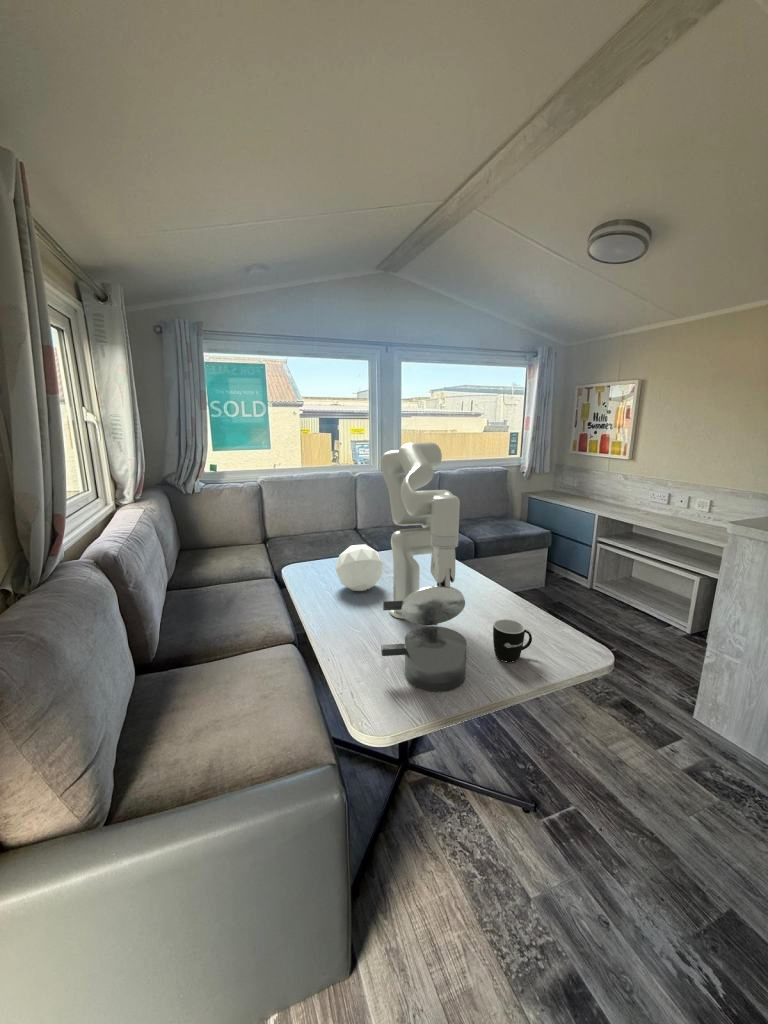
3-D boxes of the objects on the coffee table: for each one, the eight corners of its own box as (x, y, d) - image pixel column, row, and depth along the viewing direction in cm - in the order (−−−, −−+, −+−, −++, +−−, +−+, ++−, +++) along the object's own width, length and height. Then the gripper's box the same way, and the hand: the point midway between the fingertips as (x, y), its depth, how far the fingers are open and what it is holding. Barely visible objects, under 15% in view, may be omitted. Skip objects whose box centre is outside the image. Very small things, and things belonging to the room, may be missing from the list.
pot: (378, 659, 126) (378, 628, 123) (456, 655, 128) (457, 624, 126) (384, 696, 109) (384, 661, 107) (473, 690, 112) (475, 655, 109)
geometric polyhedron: (355, 608, 175) (331, 580, 163) (346, 576, 191) (324, 548, 179) (395, 586, 174) (374, 556, 162) (383, 556, 190) (363, 526, 178)
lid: (382, 628, 124) (381, 621, 126) (458, 624, 126) (456, 617, 128) (385, 591, 111) (384, 584, 113) (471, 588, 113) (468, 580, 115)
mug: (499, 666, 122) (501, 634, 120) (486, 650, 131) (488, 620, 128) (537, 662, 124) (540, 631, 122) (523, 647, 133) (525, 617, 130)
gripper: (425, 533, 123) (424, 591, 127) (437, 548, 109) (435, 614, 113) (450, 532, 124) (448, 590, 128) (465, 547, 110) (462, 612, 114)
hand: (442, 601), depth 120 cm, fingers closed
